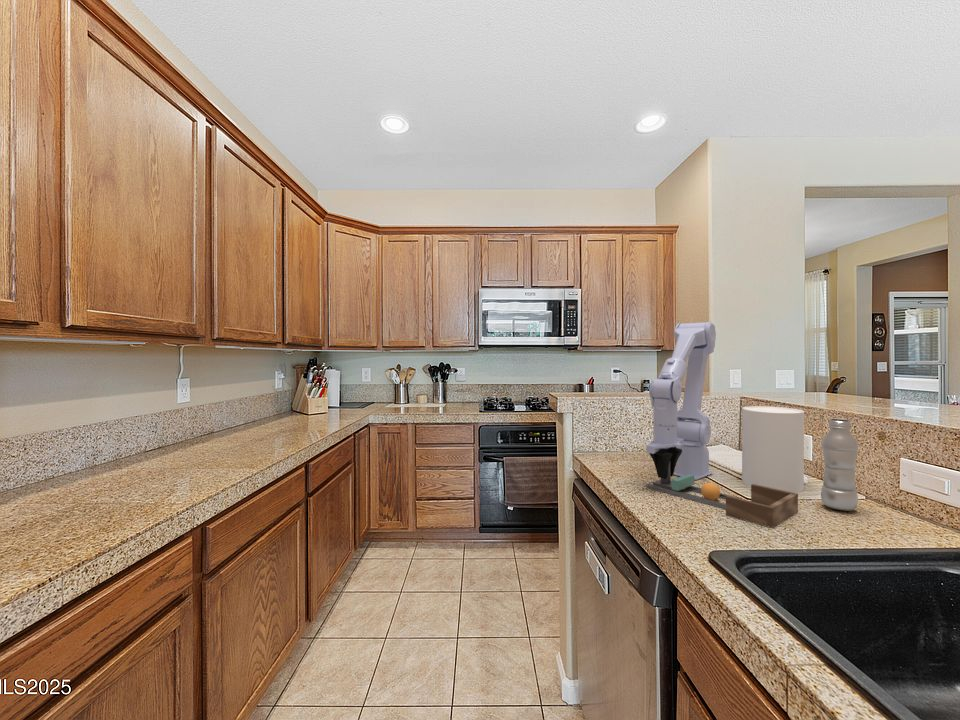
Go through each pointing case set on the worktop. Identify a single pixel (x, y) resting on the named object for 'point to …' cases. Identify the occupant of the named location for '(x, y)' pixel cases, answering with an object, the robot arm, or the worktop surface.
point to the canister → (773, 447)
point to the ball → (710, 491)
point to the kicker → (675, 481)
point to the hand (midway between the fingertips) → (665, 476)
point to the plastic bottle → (839, 467)
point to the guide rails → (691, 497)
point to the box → (763, 506)
